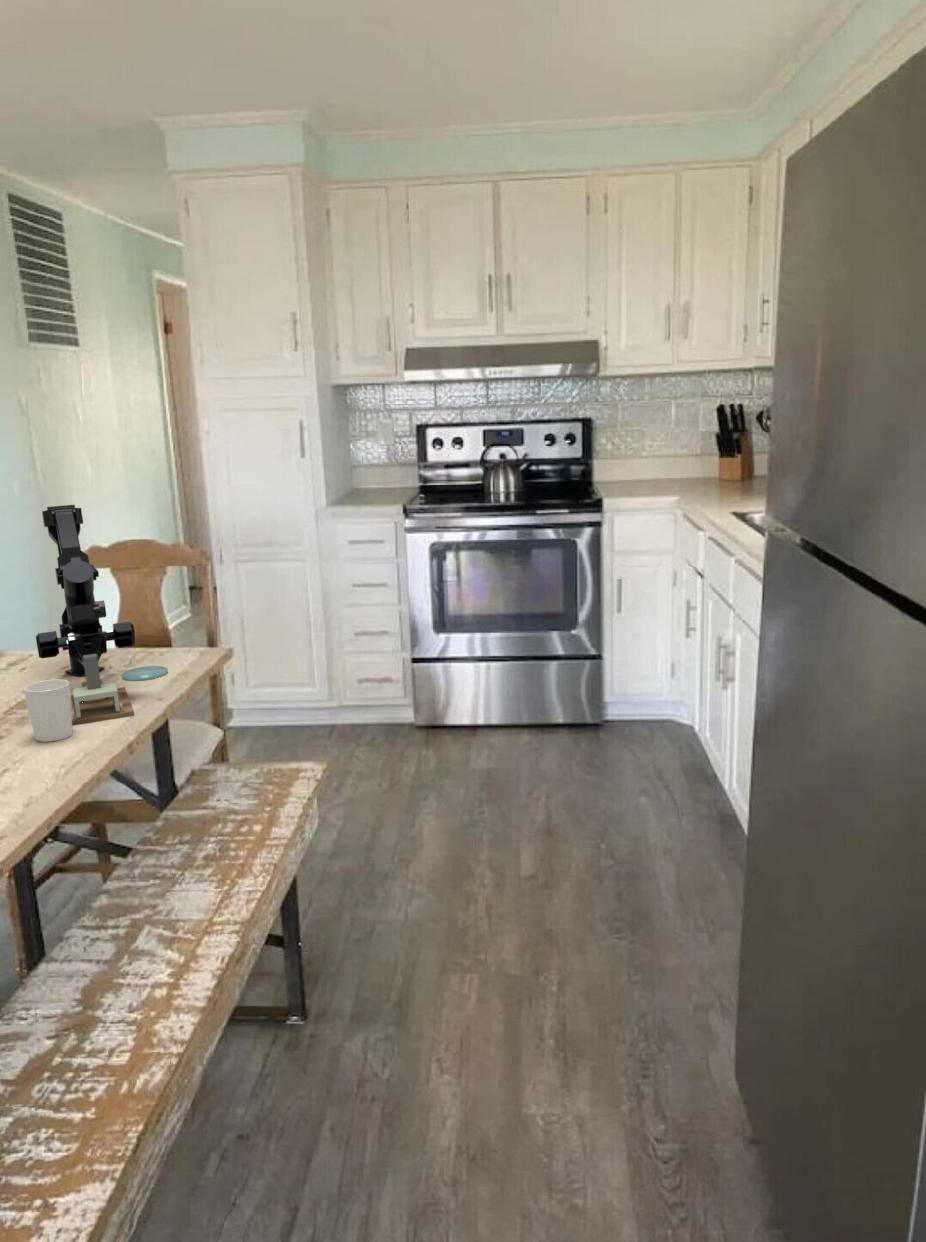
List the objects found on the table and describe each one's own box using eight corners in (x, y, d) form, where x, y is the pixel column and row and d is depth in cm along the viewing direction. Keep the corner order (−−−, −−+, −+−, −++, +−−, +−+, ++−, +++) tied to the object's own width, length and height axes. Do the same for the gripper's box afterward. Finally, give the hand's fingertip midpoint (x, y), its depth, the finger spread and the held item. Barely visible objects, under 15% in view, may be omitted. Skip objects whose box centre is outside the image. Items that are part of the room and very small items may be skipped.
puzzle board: (60, 701, 207) (59, 695, 207) (125, 691, 212) (124, 685, 212) (64, 727, 190) (63, 721, 190) (134, 716, 195) (133, 709, 195)
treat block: (84, 700, 207) (81, 681, 206) (104, 697, 209) (101, 679, 208) (85, 705, 204) (82, 686, 203) (105, 702, 205) (103, 683, 204)
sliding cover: (75, 708, 198) (68, 657, 195) (117, 702, 201) (110, 651, 198) (76, 717, 192) (69, 664, 189) (120, 711, 195) (113, 658, 192)
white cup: (60, 743, 181) (52, 692, 179) (22, 742, 183) (14, 691, 181) (84, 729, 189) (77, 679, 186) (48, 728, 190) (40, 678, 188)
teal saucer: (113, 677, 224) (112, 674, 224) (150, 667, 232) (149, 663, 231) (140, 683, 218) (139, 680, 218) (177, 672, 226) (176, 669, 225)
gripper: (29, 594, 195) (38, 660, 188) (127, 583, 202) (140, 646, 195) (34, 625, 204) (43, 689, 197) (128, 613, 211) (140, 675, 204)
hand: (92, 674), depth 198 cm, fingers closed, pressing on sliding cover
